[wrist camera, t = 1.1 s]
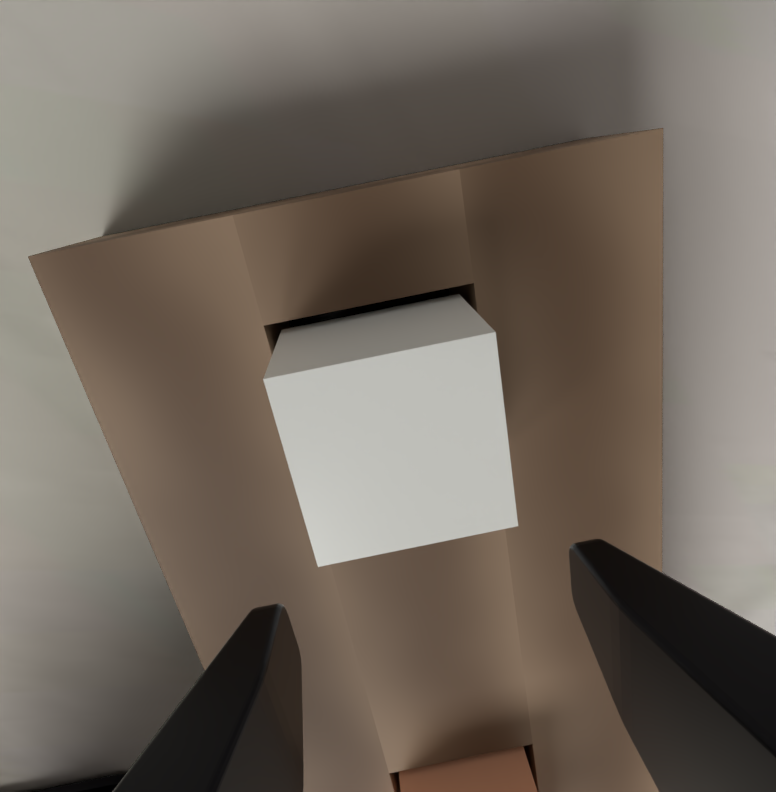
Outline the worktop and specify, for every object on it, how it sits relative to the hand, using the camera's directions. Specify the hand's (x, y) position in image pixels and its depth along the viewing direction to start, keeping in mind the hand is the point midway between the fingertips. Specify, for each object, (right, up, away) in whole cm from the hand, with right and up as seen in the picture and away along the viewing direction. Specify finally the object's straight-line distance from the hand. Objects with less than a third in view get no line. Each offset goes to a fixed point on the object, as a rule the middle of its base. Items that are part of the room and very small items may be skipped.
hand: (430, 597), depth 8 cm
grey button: (-1, +3, +7) cm, 7 cm away
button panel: (+1, -3, +13) cm, 14 cm away
